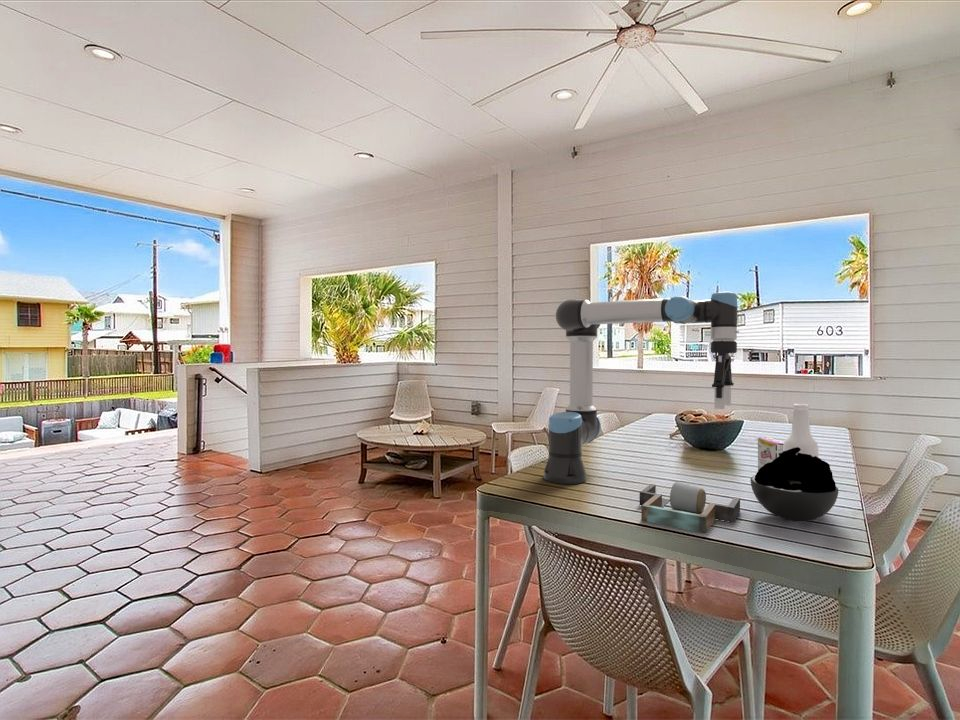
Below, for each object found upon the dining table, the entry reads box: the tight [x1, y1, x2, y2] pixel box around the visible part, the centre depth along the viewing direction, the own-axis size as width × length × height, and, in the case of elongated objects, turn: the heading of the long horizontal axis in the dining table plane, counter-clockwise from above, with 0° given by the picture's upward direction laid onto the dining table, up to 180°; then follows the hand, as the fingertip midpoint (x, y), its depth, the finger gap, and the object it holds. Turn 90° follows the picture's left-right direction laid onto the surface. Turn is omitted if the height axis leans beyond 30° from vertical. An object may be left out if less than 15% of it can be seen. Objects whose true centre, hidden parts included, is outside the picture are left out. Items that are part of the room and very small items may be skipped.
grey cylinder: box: [669, 481, 707, 514], centre depth 141 cm, size 11×8×8 cm
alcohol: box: [783, 403, 820, 458], centre depth 145 cm, size 9×9×30 cm
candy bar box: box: [757, 437, 784, 471], centre depth 161 cm, size 11×5×16 cm, turn 179°
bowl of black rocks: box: [750, 447, 839, 523], centre depth 132 cm, size 20×20×19 cm
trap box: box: [639, 483, 741, 534], centre depth 136 cm, size 25×24×4 cm
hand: (722, 407), depth 156 cm, fingers open, 13 cm apart
